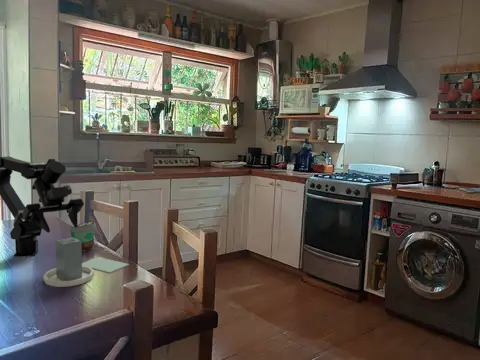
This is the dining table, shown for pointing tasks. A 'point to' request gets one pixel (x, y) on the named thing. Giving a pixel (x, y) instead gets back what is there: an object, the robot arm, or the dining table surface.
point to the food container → (84, 234)
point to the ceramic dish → (52, 280)
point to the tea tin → (69, 259)
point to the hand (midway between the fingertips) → (63, 229)
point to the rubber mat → (104, 264)
